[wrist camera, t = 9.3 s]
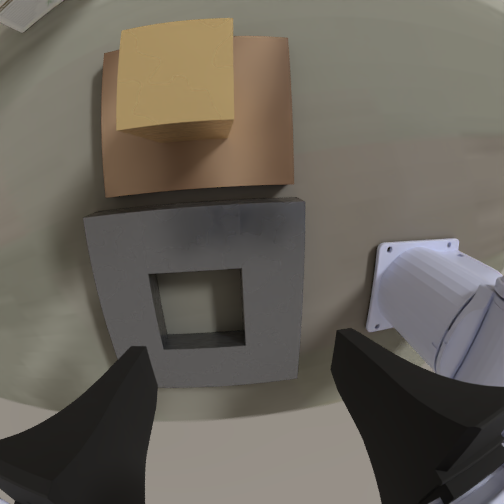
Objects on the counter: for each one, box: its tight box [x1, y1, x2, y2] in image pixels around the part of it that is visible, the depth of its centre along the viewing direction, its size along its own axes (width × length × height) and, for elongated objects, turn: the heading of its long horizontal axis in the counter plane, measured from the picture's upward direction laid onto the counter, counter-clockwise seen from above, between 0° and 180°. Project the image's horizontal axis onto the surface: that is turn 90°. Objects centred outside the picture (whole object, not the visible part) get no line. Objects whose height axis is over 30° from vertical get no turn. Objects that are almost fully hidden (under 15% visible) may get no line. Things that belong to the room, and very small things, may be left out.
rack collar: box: [83, 197, 305, 388], centre depth 20 cm, size 14×14×2 cm
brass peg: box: [116, 18, 234, 143], centre depth 12 cm, size 4×4×8 cm
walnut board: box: [101, 36, 294, 198], centre depth 16 cm, size 12×10×1 cm
